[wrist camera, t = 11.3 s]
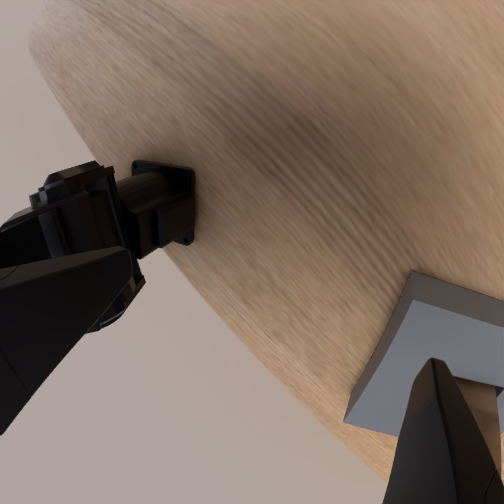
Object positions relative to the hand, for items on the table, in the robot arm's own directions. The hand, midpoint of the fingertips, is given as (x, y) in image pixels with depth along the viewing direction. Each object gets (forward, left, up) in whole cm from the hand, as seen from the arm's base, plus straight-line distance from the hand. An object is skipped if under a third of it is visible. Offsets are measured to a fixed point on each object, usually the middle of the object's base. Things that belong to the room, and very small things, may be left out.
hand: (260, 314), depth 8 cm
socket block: (+14, -11, -13) cm, 22 cm away
